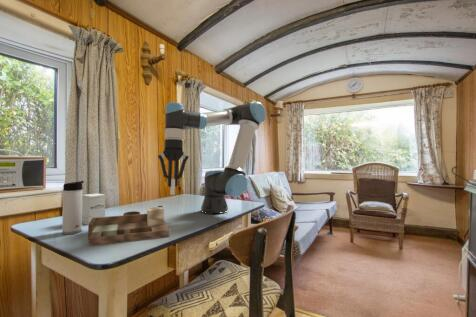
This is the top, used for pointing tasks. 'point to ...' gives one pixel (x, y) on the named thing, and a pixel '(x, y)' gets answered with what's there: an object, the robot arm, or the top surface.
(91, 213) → the supplement box
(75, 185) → the travel mug
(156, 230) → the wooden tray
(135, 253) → the top surface
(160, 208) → the beech block
